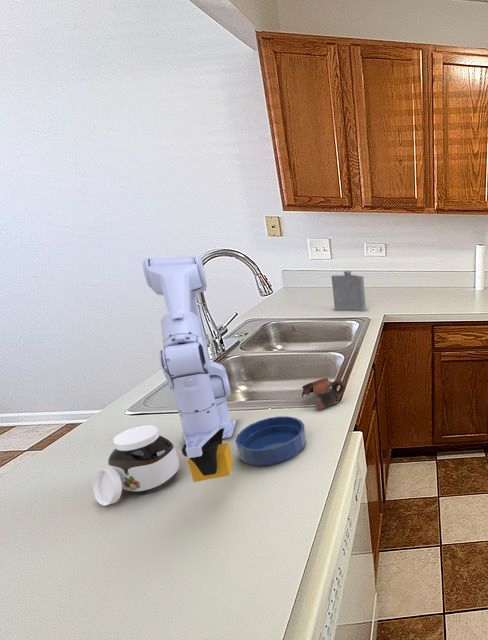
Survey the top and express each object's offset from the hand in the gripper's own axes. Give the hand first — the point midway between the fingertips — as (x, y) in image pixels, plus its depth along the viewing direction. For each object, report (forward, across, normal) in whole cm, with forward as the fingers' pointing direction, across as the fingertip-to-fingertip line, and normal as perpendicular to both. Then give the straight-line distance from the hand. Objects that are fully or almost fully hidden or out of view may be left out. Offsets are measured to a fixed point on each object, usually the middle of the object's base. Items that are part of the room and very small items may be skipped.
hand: (212, 466), depth 77 cm
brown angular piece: (+7, +33, -21) cm, 39 cm away
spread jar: (+7, +7, +15) cm, 18 cm away
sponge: (+1, 0, 0) cm, 1 cm away
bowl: (+7, +13, -9) cm, 17 cm away
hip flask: (+7, +131, -36) cm, 136 cm away
